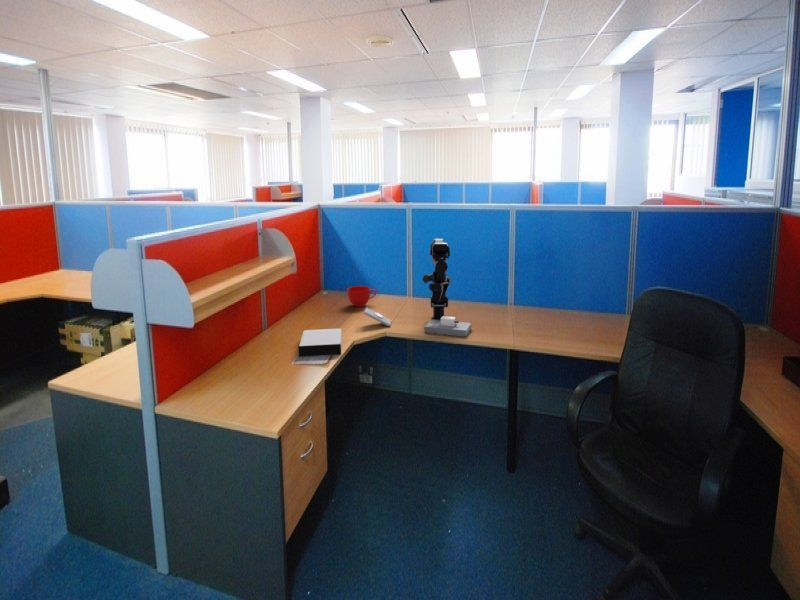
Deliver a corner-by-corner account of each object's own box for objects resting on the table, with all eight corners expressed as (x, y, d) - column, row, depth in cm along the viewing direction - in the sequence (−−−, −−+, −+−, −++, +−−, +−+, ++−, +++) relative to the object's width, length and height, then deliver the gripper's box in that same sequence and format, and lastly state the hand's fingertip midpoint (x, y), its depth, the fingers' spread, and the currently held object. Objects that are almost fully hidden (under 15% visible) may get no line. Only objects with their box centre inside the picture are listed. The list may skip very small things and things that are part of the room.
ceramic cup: (379, 306, 274) (379, 289, 271) (350, 309, 269) (349, 292, 267) (374, 301, 286) (373, 284, 283) (346, 303, 281) (345, 287, 279)
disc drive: (299, 357, 200) (298, 346, 199) (304, 339, 222) (303, 329, 221) (341, 355, 202) (340, 344, 201) (342, 338, 224) (341, 327, 222)
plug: (442, 327, 232) (442, 316, 231) (459, 329, 230) (459, 317, 228) (440, 330, 229) (440, 318, 228) (457, 331, 226) (457, 319, 225)
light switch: (391, 323, 237) (365, 310, 235) (386, 333, 238) (360, 320, 237) (392, 318, 245) (367, 305, 243) (387, 328, 246) (362, 315, 245)
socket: (431, 325, 239) (431, 318, 238) (471, 328, 232) (471, 322, 231) (424, 332, 228) (424, 325, 227) (465, 336, 221) (466, 329, 220)
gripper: (429, 264, 242) (429, 294, 246) (418, 271, 225) (418, 303, 229) (451, 265, 238) (450, 296, 242) (441, 272, 221) (441, 305, 225)
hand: (440, 300), depth 235 cm, fingers open, 9 cm apart
